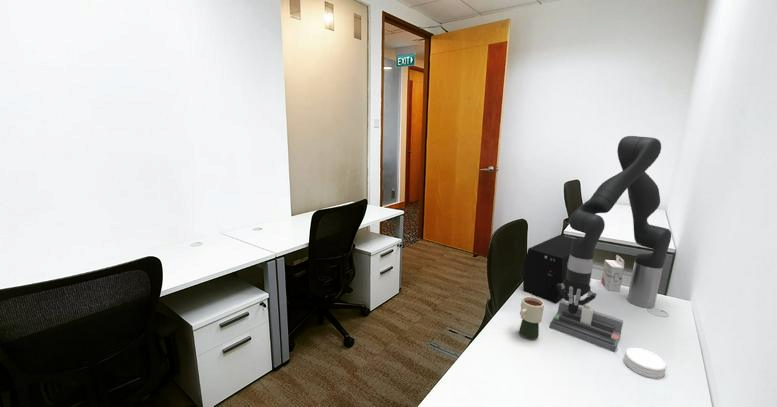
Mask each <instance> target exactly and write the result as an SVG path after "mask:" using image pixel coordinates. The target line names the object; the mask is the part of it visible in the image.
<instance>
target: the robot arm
mask: <svg viewBox="0 0 777 407" xmlns="http://www.w3.org/2000/svg"><path fill="white" fill-rule="evenodd" d="M661 151H662V143H661V140H660V139H658V138H656V137H650V136H638V135H627V136H624V137H622V138H621V139H620V141H619V142H618V145H617V158H618V161H619V164H620V168H621V169H622V171H620V172H618V173H617V174H615V175H613V176H611V177H610V178H607V179H606V180H605V181H604V182H602V183H601V184H600V185H599V186H598V187H597V189H596V190H595V192H594V193H593V194H592V196H591V197H590V198H589V199H588V200H586V201H585V202H584V203H583V204H581V205H580V206H579V207H578V208H576V209H575V210H574V211H573V212H572V213H571V215H570V217H569V219H568V220H569V221H568V222H569V227H570V228H571V229H573V231H576V232H581V233H583V234H584V237H575V238H574V239H573V241H572V244H571V250H570V256H569V259H568V263H567V272H566V278H565V280H564V282H563V283H559V284H558V285H557V286H556V287H557V289H558V290H559V292H560V294H561V295H562V297H563V299H562V300H563V301H565V302H568V303H569V307H568V311H570V313H571V314H575V313H577V311H578V306H580V307H583V306H584V305H587V304H588V303H589V302H591V301H593V300H594V299H596V297H597V293H595V292H593V290H591V288H592V287H591V285H590V284H591V278H592V274H593V273H592V271H593V265H594V263H593V262H594V256H595V248H596V246H597V243H598V242H599V240H600V238H601V236H602V234H603V232H604V230H605V226H606V224H605V219H603V217H602V216H600V215H598V214H606V213H609V212H610V211H611V210H612V209H613V207H614V206H615V205H616V203H617V202H618V201H619V199H620V198H621V196H622V195H623V194H624V193H625V192H626V191H627V196H628V201H629V205H630V210H631V214H632V222H633V223H632V224H633V225H632V226H633V236H634V240H635V241H634V242H635V243H636V244H637V245H639V246H641V247H644V248H647V249H651V250H653V251H652V252H651V253H638V254H636V255H635V258H634V263H633V268H632V273H631V279H630V283H629V289H628V294H627V298H626V299H627V300H626V301H628V302H630V303H631V304H632V305H635V306H637V307H640V308H644V309H645V308H646V309H652V308H654V307H655V305H656V301H657V296H658V291H659V288H660V282H661V278H662V273H663V269H664V265H665V262H666V257H667V255H668V250H669V247H670V244H671V240H672V232H671V230H670V229H669V228H666V227H661V226H658V225H653V224H649V222H648V219H649V217H651V215H652V214H654V213H655V212H656V211H657V210H658V209H659V206H660V204H661V196H660V189H659V187H658V185H657V183H656V182H655V180H653V179H652V177H651V176H650V175H649V174H648V173H647V172H646V171H647V170H648V169H649V168H650V167H651V166H652V165H653V164H654V162H656V160H657V159H658V158H659V156H660V153H661ZM564 288H566V289H567V291H568V293H569V294H567V292H566V291H565V289H564ZM585 295H586V297H585V298H583V299H582V297H584V296H585ZM581 299H582V300H581Z"/></svg>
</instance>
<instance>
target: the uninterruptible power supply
mask: <svg viewBox="0 0 777 407" xmlns="http://www.w3.org/2000/svg"><path fill="white" fill-rule="evenodd" d="M573 239H575V238H574V237H570V236H565V235H564V234H558V235H557V236H554V237H551V238H549V239H547V240H545V241H543V242H540V243H538V244H535V245H533V246H531V247H528V249H527V252H526V256H525V260H524V265H523V269H522V270H523V271H522V291H523V292H524V293H527V294H528V295H529V294H530V295H532V296H533V297H536V298H538V299H541V300H542V299H543V300H545V301H547V302H549V303H552V304H555V305H556V304H559V302H560V301H563V300H564V299H563V297H562V295H561V294H560V292H559V290H558V289H557V287H556V286H557V285H558V284H559V283H563V282H564V280H565V278H566V272H567V263H568V259H569V256H570V250H571V244H572V241H573ZM564 289H565V291H566V292H567V294H568V295H569V293H568V291H567V289H566V288H564Z"/></svg>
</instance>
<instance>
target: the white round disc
mask: <svg viewBox="0 0 777 407" xmlns="http://www.w3.org/2000/svg"><path fill="white" fill-rule="evenodd" d="M623 363H624V364H625V366H626V367H628V368H629V369H630V370H631V371H633V372H634V373H636V374H638V375H641V376H644V377H647V378H650V379H660V378H663V377H664V376H665V375H666V370H667V364H666V362H665V360H664V359H663V358H662V357H660V356H659V355H658V354H656V353H654V352H652V351H650V350H647V349H645V348H640V347H629V348H627V349H625V352H624V357H623Z"/></svg>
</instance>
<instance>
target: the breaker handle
mask: <svg viewBox="0 0 777 407" xmlns="http://www.w3.org/2000/svg"><path fill="white" fill-rule="evenodd" d="M582 307H583V308H582V314H581V320H580V322H582V323H585V324H588V325H590V326H591V322H592V317H593V311H595V307H594V306H591V305H590V306H589V305H587V304H585V305H583V306H582Z"/></svg>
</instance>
